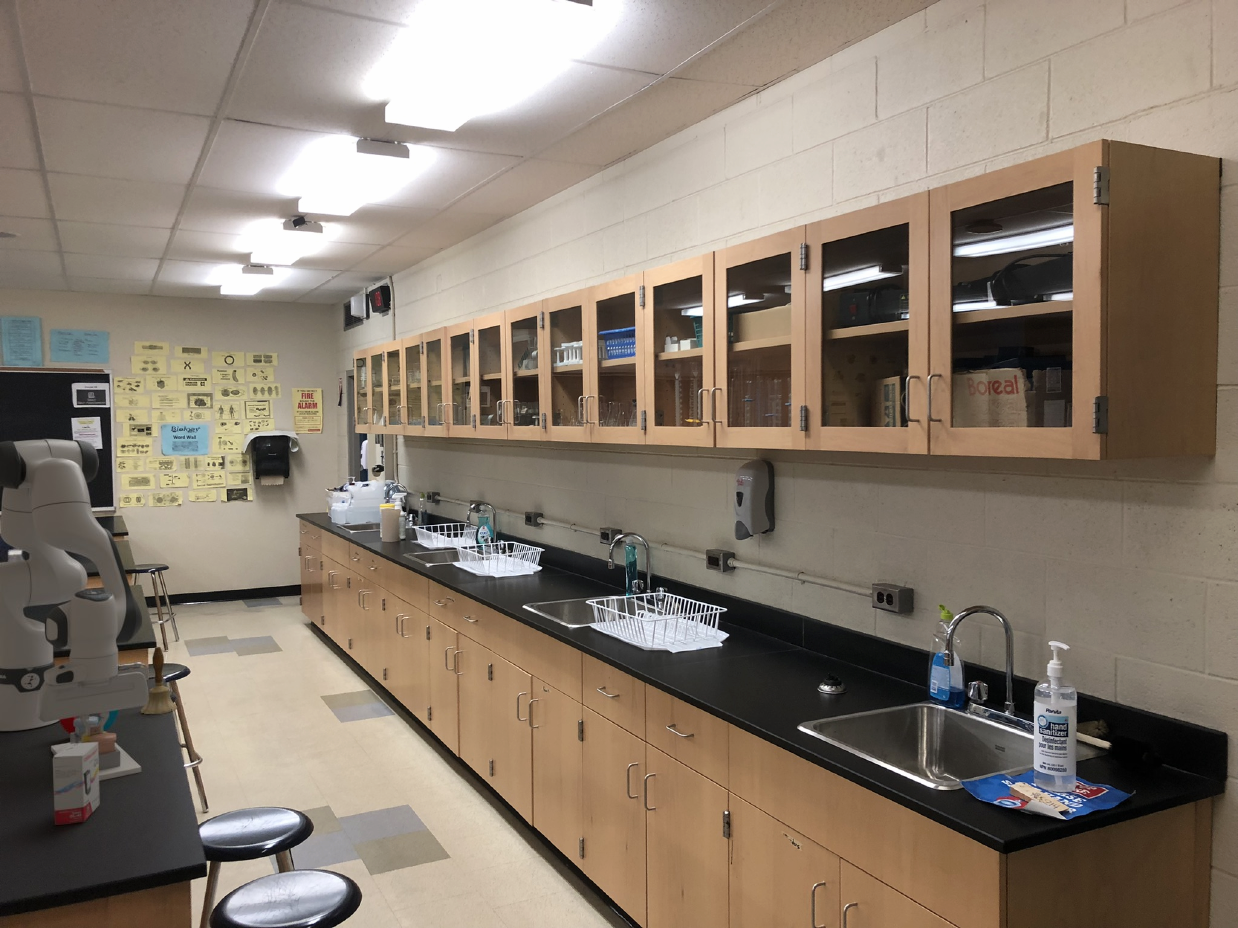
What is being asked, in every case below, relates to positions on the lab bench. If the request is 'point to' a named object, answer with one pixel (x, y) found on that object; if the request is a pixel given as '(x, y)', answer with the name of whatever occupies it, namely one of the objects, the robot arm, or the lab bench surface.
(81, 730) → the slate button
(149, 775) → the lab bench surface
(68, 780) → the ink box
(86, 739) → the ochre button
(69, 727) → the magnet
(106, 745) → the terracotta button
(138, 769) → the console
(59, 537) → the robot arm
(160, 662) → the hand bell
